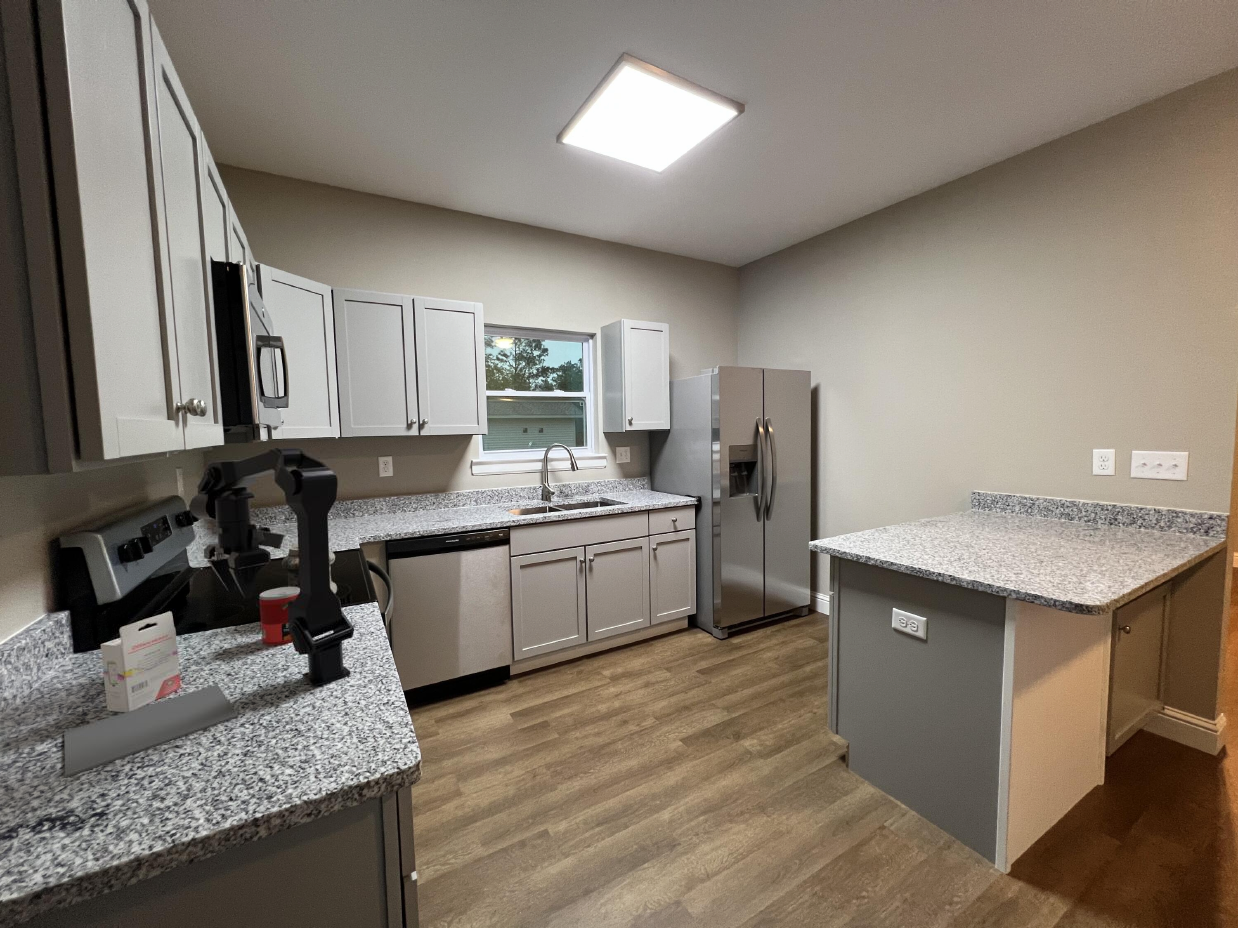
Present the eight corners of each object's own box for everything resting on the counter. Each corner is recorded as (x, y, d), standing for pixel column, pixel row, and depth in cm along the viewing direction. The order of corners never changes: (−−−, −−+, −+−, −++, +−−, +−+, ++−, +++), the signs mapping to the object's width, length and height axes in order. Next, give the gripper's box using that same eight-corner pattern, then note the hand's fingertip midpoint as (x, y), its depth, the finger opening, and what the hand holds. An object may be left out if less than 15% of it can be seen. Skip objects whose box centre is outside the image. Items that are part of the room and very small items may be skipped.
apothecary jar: (330, 618, 127) (326, 548, 125) (276, 624, 123) (271, 552, 122) (343, 603, 138) (339, 538, 137) (294, 608, 135) (289, 542, 134)
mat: (238, 716, 82) (237, 714, 82) (65, 777, 68) (65, 775, 68) (217, 685, 93) (217, 684, 93) (64, 732, 78) (64, 731, 78)
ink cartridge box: (160, 686, 93) (154, 608, 92) (181, 688, 92) (175, 610, 91) (104, 711, 85) (97, 626, 84) (127, 714, 84) (120, 628, 83)
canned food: (289, 645, 110) (285, 596, 109) (253, 646, 110) (249, 597, 110) (311, 631, 118) (308, 586, 117) (277, 632, 118) (274, 586, 117)
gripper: (296, 517, 105) (301, 590, 106) (260, 512, 116) (265, 578, 117) (232, 526, 96) (238, 605, 97) (200, 519, 107) (206, 591, 108)
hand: (239, 594), depth 105 cm, fingers open, 9 cm apart
